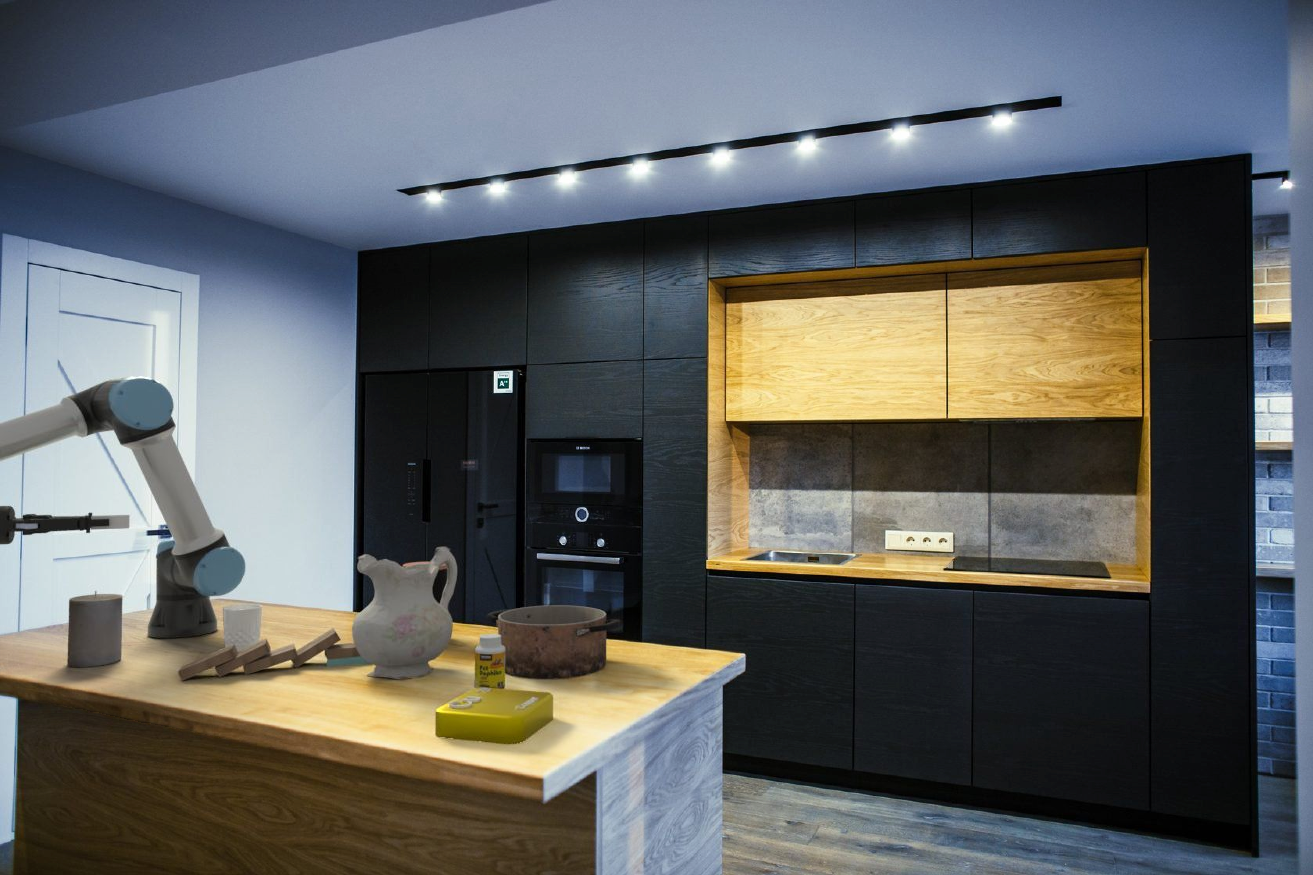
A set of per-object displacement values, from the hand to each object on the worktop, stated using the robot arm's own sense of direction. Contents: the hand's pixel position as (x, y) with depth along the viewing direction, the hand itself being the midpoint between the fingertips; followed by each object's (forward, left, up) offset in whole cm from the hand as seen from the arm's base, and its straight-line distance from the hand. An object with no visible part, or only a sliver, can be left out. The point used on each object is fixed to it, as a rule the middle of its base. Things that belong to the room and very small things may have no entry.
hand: (128, 521), depth 178 cm
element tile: (+71, +58, -30) cm, 96 cm away
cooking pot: (+36, +79, -30) cm, 92 cm away
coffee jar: (0, +60, -30) cm, 68 cm away
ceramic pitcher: (+28, +51, -30) cm, 66 cm away
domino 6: (+14, +38, -30) cm, 50 cm away
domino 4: (+13, +31, -29) cm, 44 cm away
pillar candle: (-9, -7, -30) cm, 32 cm away
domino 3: (+14, +22, -29) cm, 39 cm away
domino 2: (+14, +17, -29) cm, 37 cm away
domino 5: (+14, +37, -28) cm, 48 cm away
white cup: (-6, +21, -30) cm, 38 cm away
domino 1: (+14, +11, -29) cm, 34 cm away
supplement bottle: (+50, +62, -30) cm, 85 cm away
